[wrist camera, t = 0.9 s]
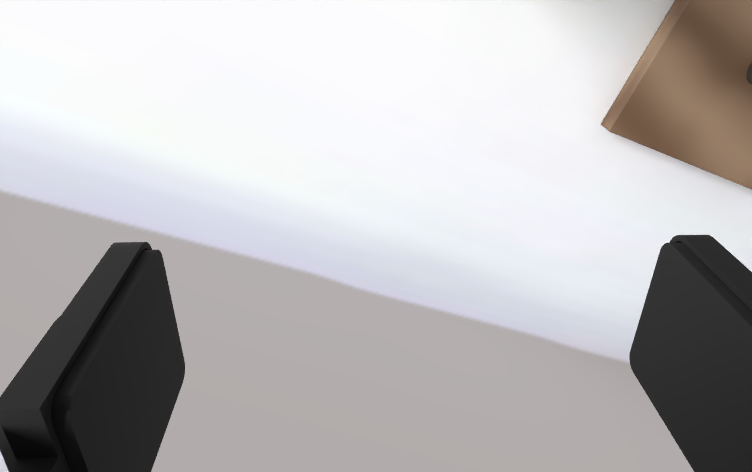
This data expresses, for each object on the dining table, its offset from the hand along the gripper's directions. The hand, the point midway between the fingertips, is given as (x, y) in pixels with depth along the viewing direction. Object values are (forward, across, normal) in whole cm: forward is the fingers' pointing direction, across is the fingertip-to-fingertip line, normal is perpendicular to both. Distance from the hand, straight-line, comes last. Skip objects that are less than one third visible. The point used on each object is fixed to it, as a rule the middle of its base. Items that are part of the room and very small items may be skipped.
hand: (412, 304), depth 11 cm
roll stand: (+28, -25, +2) cm, 38 cm away
